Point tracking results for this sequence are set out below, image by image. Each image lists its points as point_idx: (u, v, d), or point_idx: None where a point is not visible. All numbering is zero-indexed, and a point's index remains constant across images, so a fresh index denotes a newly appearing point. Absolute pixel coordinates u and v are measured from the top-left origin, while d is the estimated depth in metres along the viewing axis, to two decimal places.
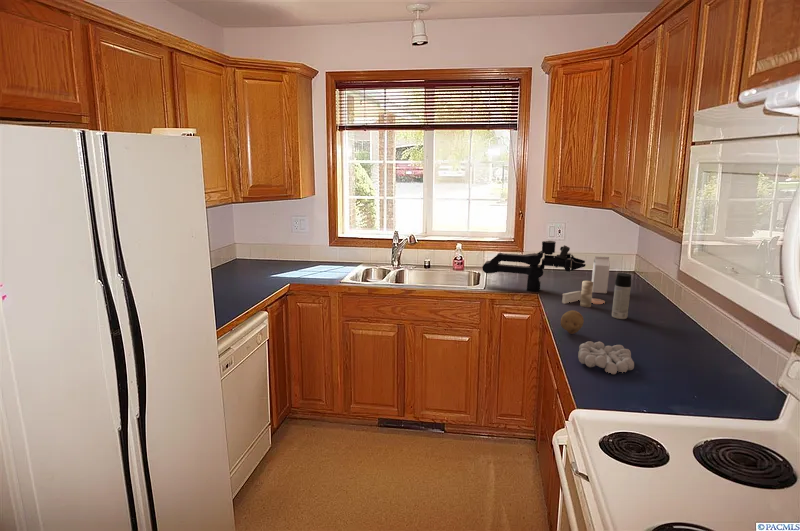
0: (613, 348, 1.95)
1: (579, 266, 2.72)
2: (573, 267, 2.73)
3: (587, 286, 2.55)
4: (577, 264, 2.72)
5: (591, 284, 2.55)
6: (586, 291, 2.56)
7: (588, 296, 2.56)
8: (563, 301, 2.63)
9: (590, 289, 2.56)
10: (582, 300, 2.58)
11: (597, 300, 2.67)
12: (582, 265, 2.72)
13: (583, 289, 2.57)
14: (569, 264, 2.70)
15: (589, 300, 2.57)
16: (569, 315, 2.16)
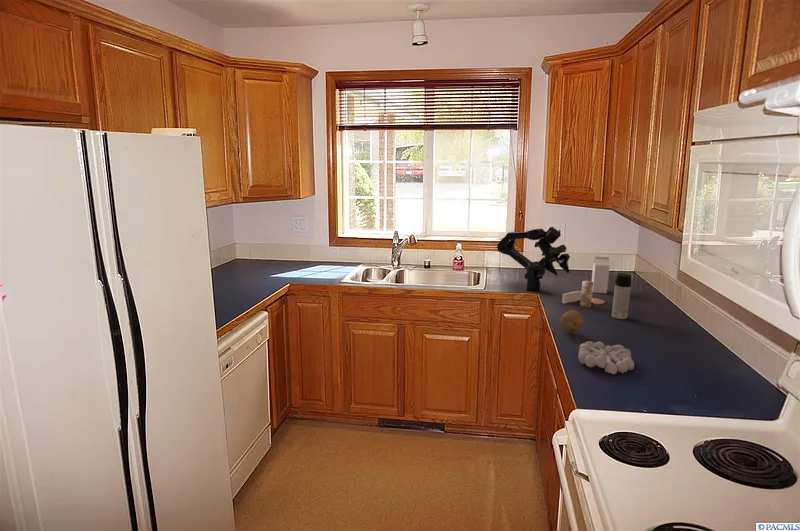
0: (613, 348, 1.95)
1: (551, 271, 2.68)
2: (547, 267, 2.70)
3: (587, 286, 2.55)
4: (551, 268, 2.68)
5: (591, 284, 2.55)
6: (586, 291, 2.56)
7: (588, 296, 2.56)
8: (563, 301, 2.63)
9: (590, 289, 2.56)
10: (582, 300, 2.58)
11: (597, 300, 2.67)
12: (554, 272, 2.68)
13: (583, 289, 2.57)
14: (543, 262, 2.67)
15: (589, 300, 2.57)
16: (569, 315, 2.16)
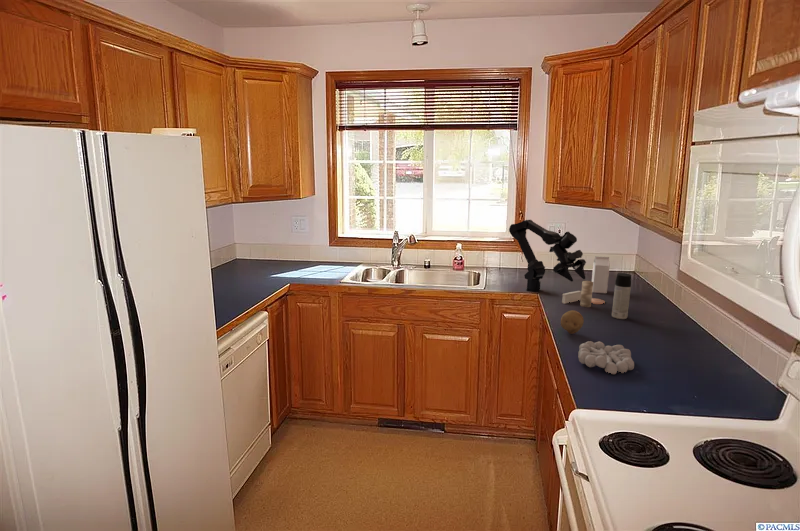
0: (613, 348, 1.95)
1: (567, 277, 2.60)
2: (562, 273, 2.62)
3: (587, 286, 2.55)
4: (566, 274, 2.60)
5: (591, 284, 2.55)
6: (586, 291, 2.56)
7: (588, 296, 2.56)
8: (563, 301, 2.63)
9: (590, 289, 2.56)
10: (582, 300, 2.58)
11: (597, 300, 2.67)
12: (569, 278, 2.59)
13: (583, 289, 2.57)
14: (558, 267, 2.59)
15: (589, 300, 2.57)
16: (569, 315, 2.16)
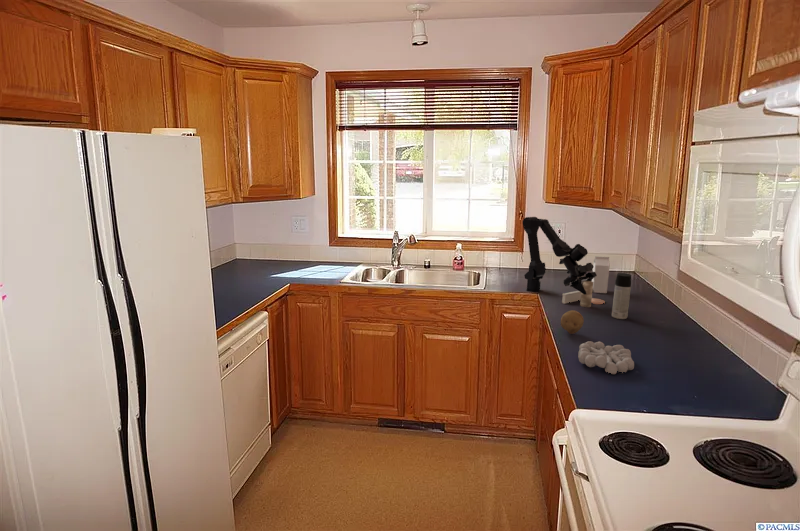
0: (613, 348, 1.95)
1: (580, 290, 2.57)
2: (575, 285, 2.58)
3: (587, 286, 2.55)
4: (580, 287, 2.56)
5: (591, 284, 2.55)
6: (586, 291, 2.56)
7: (588, 296, 2.56)
8: (563, 301, 2.63)
9: (590, 289, 2.56)
10: (582, 300, 2.58)
11: (597, 300, 2.67)
12: (583, 291, 2.56)
13: None
14: (568, 281, 2.55)
15: (589, 300, 2.57)
16: (569, 315, 2.16)
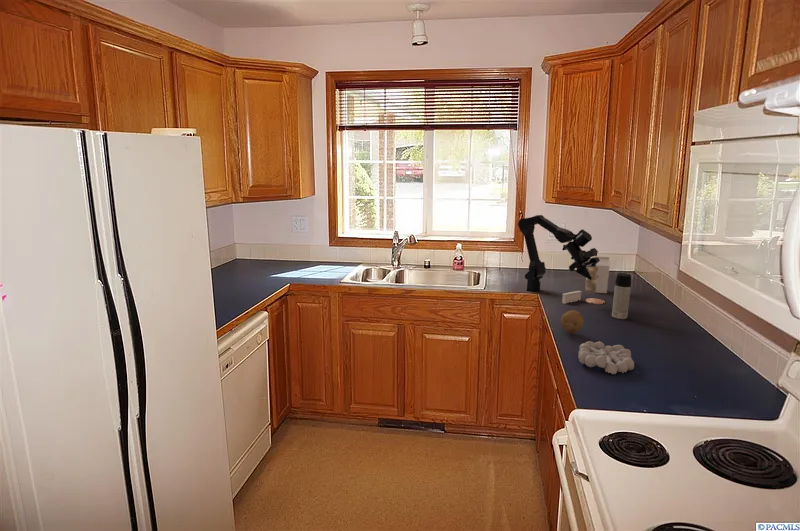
0: (613, 348, 1.95)
1: (585, 275, 2.57)
2: (580, 271, 2.58)
3: (592, 272, 2.56)
4: (585, 272, 2.56)
5: (596, 269, 2.56)
6: (591, 276, 2.56)
7: (593, 281, 2.56)
8: (563, 301, 2.63)
9: (595, 274, 2.56)
10: (587, 285, 2.58)
11: (597, 300, 2.67)
12: (588, 277, 2.56)
13: None
14: (574, 266, 2.54)
15: (594, 285, 2.57)
16: (569, 315, 2.16)
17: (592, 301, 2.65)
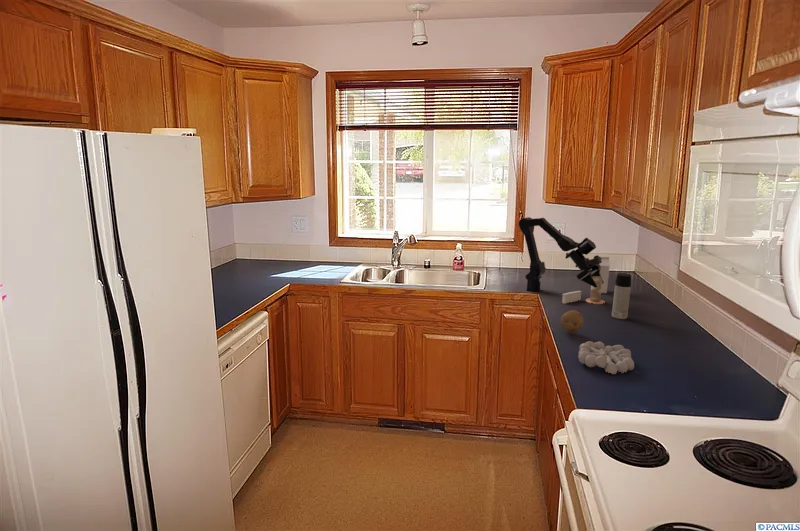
0: (613, 348, 1.95)
1: (590, 283, 2.61)
2: (585, 279, 2.62)
3: (598, 282, 2.62)
4: (590, 280, 2.61)
5: (601, 279, 2.63)
6: (597, 286, 2.63)
7: (599, 291, 2.63)
8: (563, 301, 2.63)
9: (601, 284, 2.63)
10: (593, 295, 2.64)
11: None
12: (593, 284, 2.61)
13: None
14: (583, 274, 2.59)
15: (600, 295, 2.64)
16: (569, 315, 2.16)
17: (592, 301, 2.65)
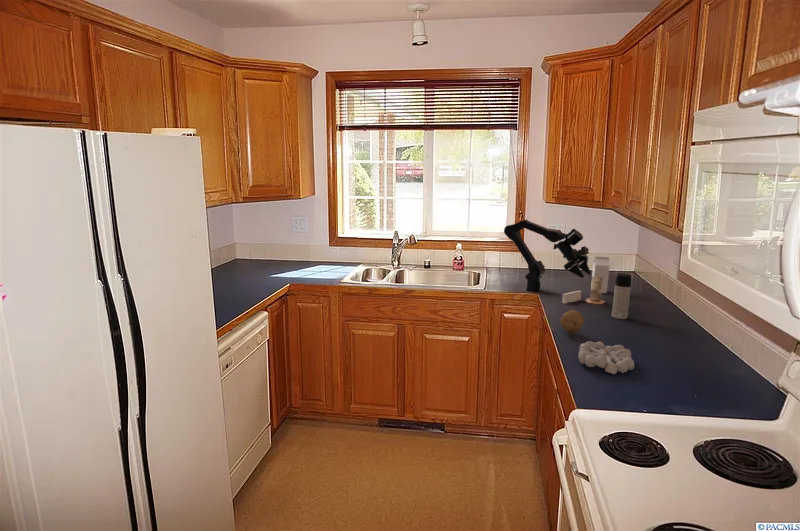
0: (613, 348, 1.95)
1: (577, 273, 2.64)
2: (572, 270, 2.65)
3: (598, 282, 2.62)
4: (577, 270, 2.64)
5: (602, 279, 2.63)
6: (598, 286, 2.63)
7: (599, 291, 2.63)
8: (563, 301, 2.63)
9: (601, 284, 2.63)
10: (593, 295, 2.64)
11: None
12: (580, 275, 2.64)
13: (594, 284, 2.63)
14: (570, 265, 2.62)
15: (600, 295, 2.64)
16: (569, 315, 2.16)
17: (592, 301, 2.65)
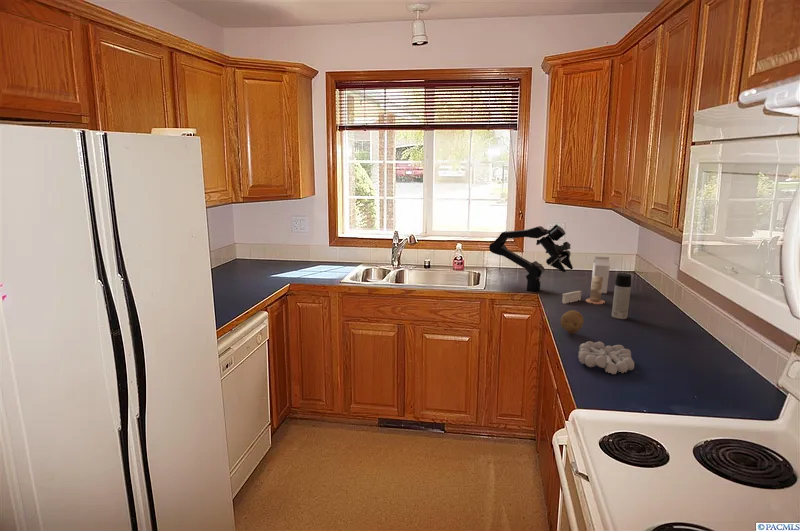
0: (613, 348, 1.95)
1: (559, 268, 2.71)
2: (554, 264, 2.71)
3: (598, 282, 2.62)
4: (559, 265, 2.70)
5: (602, 279, 2.63)
6: (597, 286, 2.63)
7: (599, 291, 2.63)
8: (563, 301, 2.63)
9: (601, 284, 2.63)
10: (593, 295, 2.64)
11: None
12: (562, 269, 2.70)
13: (594, 284, 2.63)
14: (552, 260, 2.68)
15: (600, 295, 2.64)
16: (569, 315, 2.16)
17: (592, 301, 2.65)
